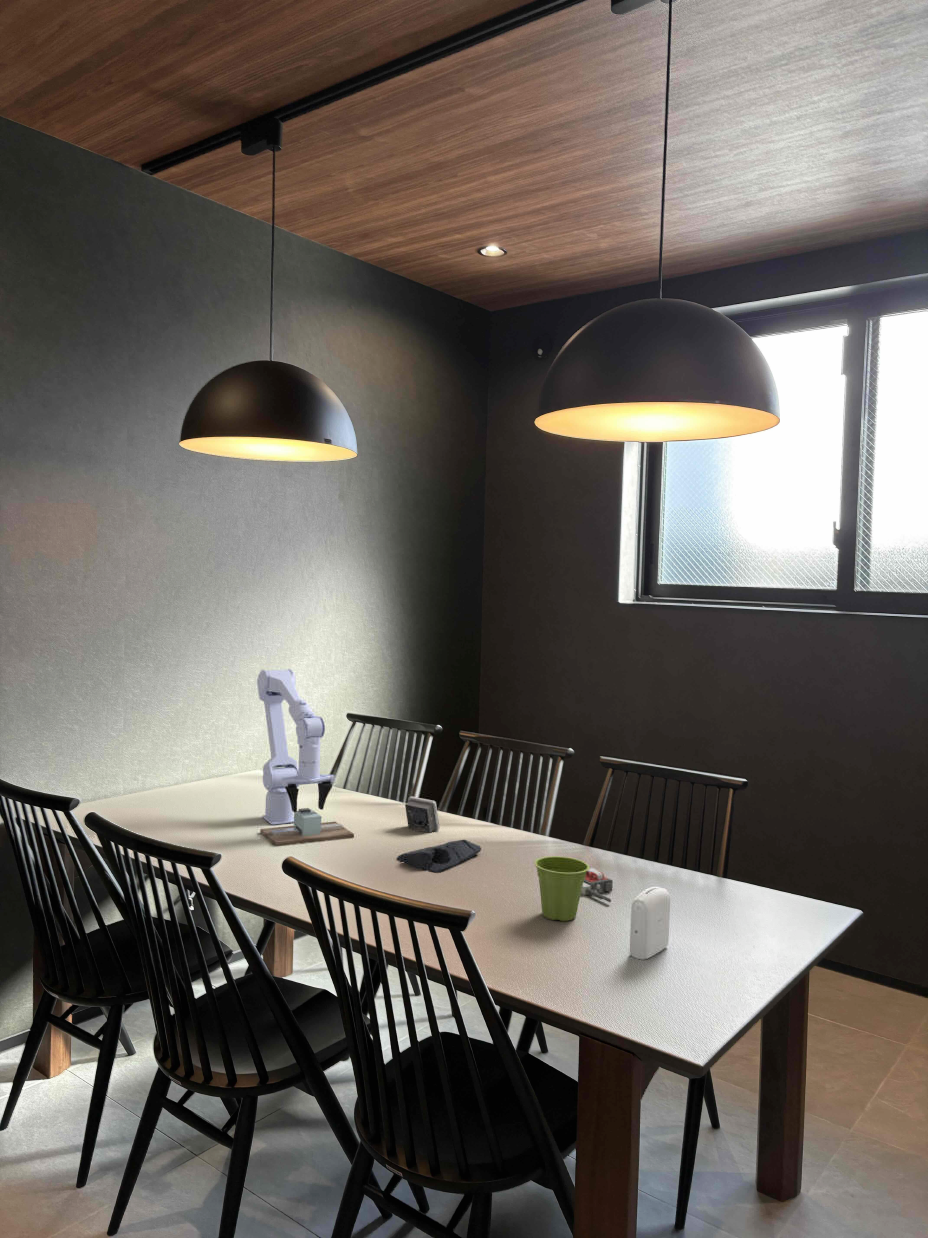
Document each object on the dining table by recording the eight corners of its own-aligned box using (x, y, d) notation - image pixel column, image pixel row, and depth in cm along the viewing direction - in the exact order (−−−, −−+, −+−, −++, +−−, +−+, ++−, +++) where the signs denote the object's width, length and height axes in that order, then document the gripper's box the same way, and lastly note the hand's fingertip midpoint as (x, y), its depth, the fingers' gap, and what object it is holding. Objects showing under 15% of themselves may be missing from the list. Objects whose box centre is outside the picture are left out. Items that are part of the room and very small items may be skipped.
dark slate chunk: (490, 858, 236) (491, 840, 236) (434, 876, 219) (435, 857, 219) (446, 845, 246) (447, 828, 246) (389, 862, 229) (390, 844, 229)
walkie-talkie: (551, 881, 219) (606, 908, 202) (552, 863, 218) (607, 888, 201) (580, 876, 223) (635, 902, 206) (581, 858, 223) (636, 882, 206)
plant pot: (572, 930, 186) (575, 876, 186) (522, 917, 193) (524, 865, 192) (596, 914, 196) (598, 862, 196) (547, 902, 203) (549, 852, 202)
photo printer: (645, 962, 172) (648, 898, 171) (626, 956, 174) (628, 892, 174) (671, 947, 180) (674, 885, 179) (651, 941, 182) (654, 880, 182)
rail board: (260, 832, 250) (260, 825, 250) (335, 825, 261) (335, 818, 260) (275, 846, 238) (276, 838, 238) (353, 837, 248) (354, 830, 248)
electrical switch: (440, 831, 259) (439, 799, 258) (429, 836, 254) (429, 804, 253) (413, 825, 264) (413, 794, 263) (403, 830, 259) (402, 799, 258)
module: (293, 828, 251) (294, 809, 251) (310, 827, 254) (311, 807, 253) (303, 836, 244) (303, 815, 244) (320, 834, 247) (321, 814, 246)
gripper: (288, 765, 241) (286, 816, 242) (339, 762, 248) (337, 811, 249) (280, 760, 247) (278, 809, 248) (330, 757, 255) (328, 805, 255)
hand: (307, 810), depth 249 cm, fingers open, 7 cm apart
